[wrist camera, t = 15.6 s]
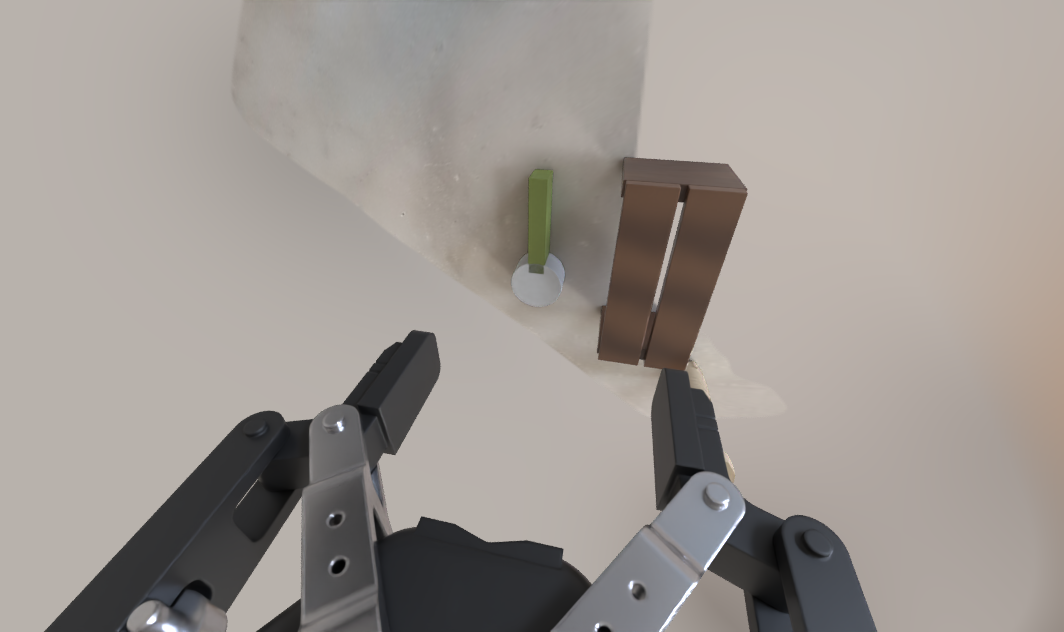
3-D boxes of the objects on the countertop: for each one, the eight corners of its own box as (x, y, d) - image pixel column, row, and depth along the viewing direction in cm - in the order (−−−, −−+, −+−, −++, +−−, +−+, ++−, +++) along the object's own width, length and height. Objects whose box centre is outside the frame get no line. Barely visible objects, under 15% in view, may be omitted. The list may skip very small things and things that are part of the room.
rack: (624, 157, 35) (623, 183, 29) (728, 163, 33) (751, 193, 27) (600, 314, 46) (596, 359, 39) (678, 325, 44) (686, 373, 38)
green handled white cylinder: (515, 167, 37) (508, 176, 35) (572, 171, 37) (568, 180, 34) (517, 290, 46) (511, 303, 44) (563, 295, 45) (559, 310, 43)
